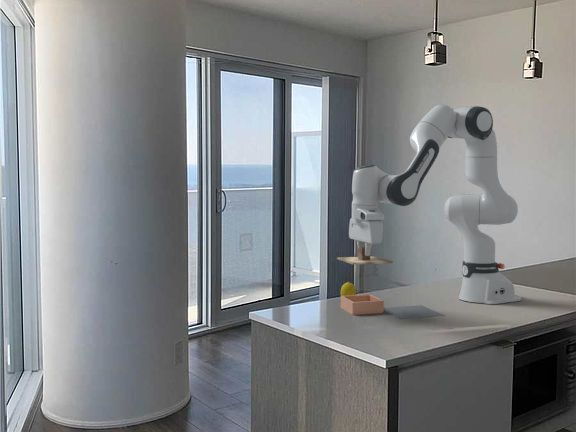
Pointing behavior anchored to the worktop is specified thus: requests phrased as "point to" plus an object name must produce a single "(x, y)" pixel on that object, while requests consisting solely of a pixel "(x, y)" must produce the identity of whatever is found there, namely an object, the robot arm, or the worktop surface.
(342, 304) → the salmon open box
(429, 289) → the worktop surface
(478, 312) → the worktop surface
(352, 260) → the lid
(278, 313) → the worktop surface
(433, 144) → the robot arm
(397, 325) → the worktop surface
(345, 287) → the lemon
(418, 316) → the mat
